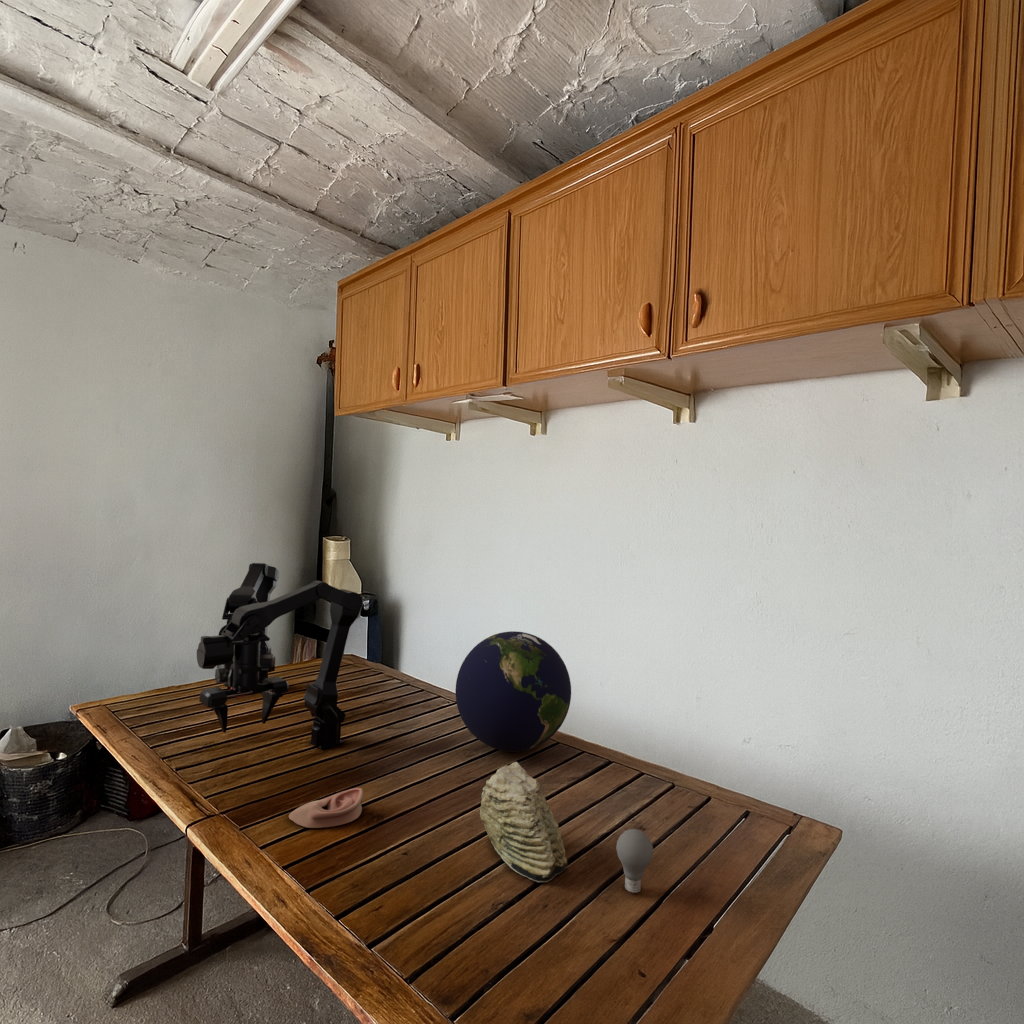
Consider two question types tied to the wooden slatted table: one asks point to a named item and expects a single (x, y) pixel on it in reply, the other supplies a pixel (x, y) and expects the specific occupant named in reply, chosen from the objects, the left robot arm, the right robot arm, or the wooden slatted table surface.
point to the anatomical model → (330, 810)
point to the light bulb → (634, 857)
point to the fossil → (522, 824)
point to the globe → (513, 691)
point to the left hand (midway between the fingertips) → (238, 691)
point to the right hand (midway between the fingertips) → (244, 727)
